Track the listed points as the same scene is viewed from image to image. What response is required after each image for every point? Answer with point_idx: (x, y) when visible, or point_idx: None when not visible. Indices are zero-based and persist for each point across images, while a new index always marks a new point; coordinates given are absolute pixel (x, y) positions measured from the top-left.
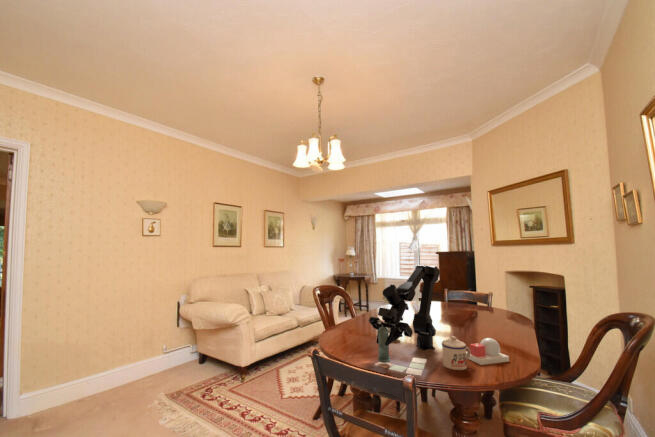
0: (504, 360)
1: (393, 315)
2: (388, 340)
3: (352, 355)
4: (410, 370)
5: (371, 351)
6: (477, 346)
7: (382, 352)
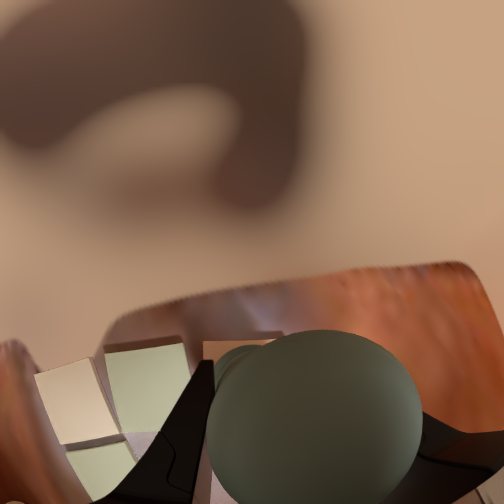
0: None
1: None
2: (180, 395)
3: (442, 346)
4: (89, 404)
5: None
6: None
7: (242, 353)
